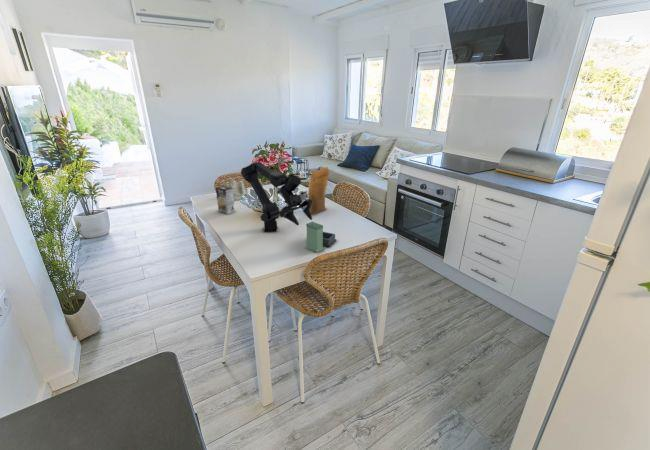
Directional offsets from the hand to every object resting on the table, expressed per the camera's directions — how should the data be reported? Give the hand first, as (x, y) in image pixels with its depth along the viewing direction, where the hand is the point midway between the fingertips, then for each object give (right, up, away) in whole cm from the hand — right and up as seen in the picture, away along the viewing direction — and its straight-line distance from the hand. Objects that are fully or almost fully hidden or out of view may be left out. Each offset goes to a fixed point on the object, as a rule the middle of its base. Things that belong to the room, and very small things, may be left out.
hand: (305, 222), depth 155 cm
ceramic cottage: (-55, +19, +75) cm, 94 cm away
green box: (+5, -13, +1) cm, 14 cm away
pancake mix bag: (+5, +7, +49) cm, 49 cm away
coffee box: (-53, +7, +47) cm, 71 cm away
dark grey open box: (+9, -10, +8) cm, 16 cm away
